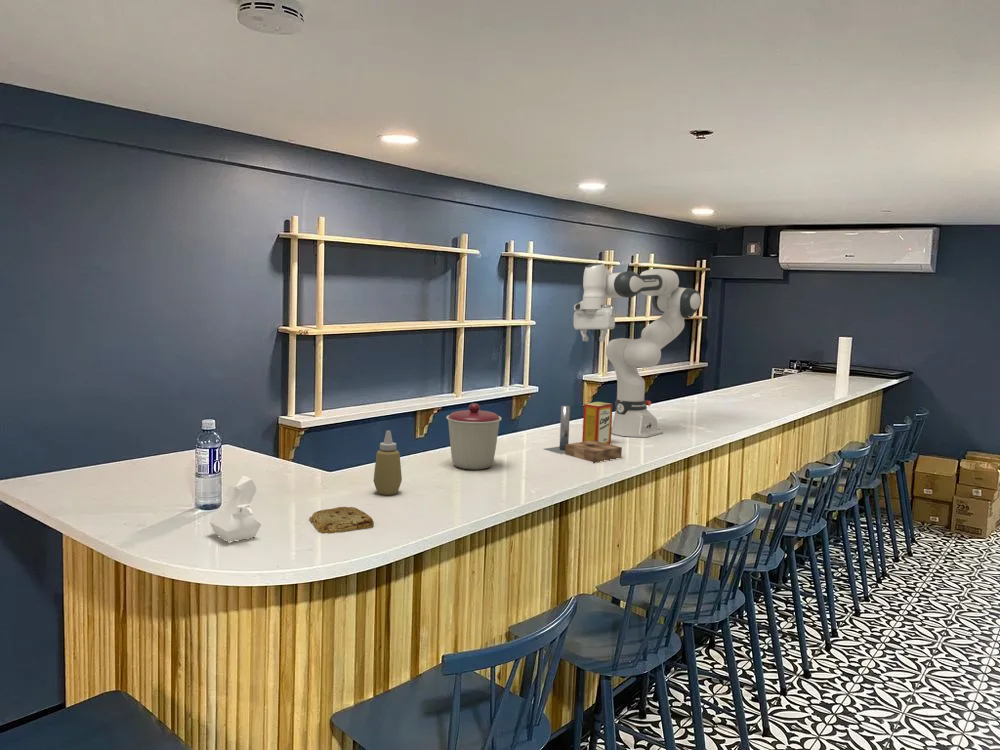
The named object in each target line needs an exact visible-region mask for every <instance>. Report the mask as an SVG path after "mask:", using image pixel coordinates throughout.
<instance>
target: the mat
mask: <svg viewBox="0 0 1000 750" xmlns="http://www.w3.org/2000/svg"><path fill="white" fill-rule="evenodd" d="M559 448H560V445H559V446H552V447H547V448H543V450H544V451H547V452H551V453H555V454H560V455H565V451H563V450H559Z"/></svg>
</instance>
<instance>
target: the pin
mask: <svg viewBox="0 0 1000 750" xmlns="http://www.w3.org/2000/svg"><path fill="white" fill-rule="evenodd" d="M570 411H571V406H570V405H561V406H560V422H559V423H560V424H559V425H560V427H559V428H560V429H559V430H560V431H559V446H560V448H559V450H563V451H565V445H566V444H570V443H569V441H570V439H569V438H570V437H569V436H570V419H571V418H570V413H571V412H570Z"/></svg>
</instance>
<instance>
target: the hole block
mask: <svg viewBox="0 0 1000 750" xmlns="http://www.w3.org/2000/svg"><path fill="white" fill-rule="evenodd" d="M564 455H566V456H569V457H573V458H577V459H579V460H584V461H588V462H591V463H592V462H593V463H592V464H596V463H595V462H597V463H601V462H600V461H603V462H605V461H604V460H609V461H611V460H610V459H615V460H617V459H616V458H621V459H622V447H621V446H618V445H613V444H606V443H602V442H598V441H594V440H592V441H586V442H582V441H580V442H572V443H568V444H566V445H565V454H564Z"/></svg>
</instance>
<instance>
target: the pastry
mask: <svg viewBox="0 0 1000 750" xmlns="http://www.w3.org/2000/svg"><path fill="white" fill-rule="evenodd" d="M308 520H310V521H311V522H310V521H309V522H310V523H311V524H312V523H313V524H312V525H313V527H314V526H315V527H314V529H315V530H316V531H317V530H318V531H317V532H318V533H320V532H321V533H320V534H325V533H328V534H336V533H335V532H340V533H346V531H347V532H350V531H351V532H352V531H357V530H358V529H359V530H365V529H370V528H374V524H375V523H374V520H373V518H372V517H371V516H370V515H369V514H367V513H366V512H364V511H362V510H361V509H358V508H357V507H354V506H350V507H349V506H338V507H333V508H327V509H321V510H317V511H315V512H313V513H312V515H311V516H310V517H309V518H308Z"/></svg>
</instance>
